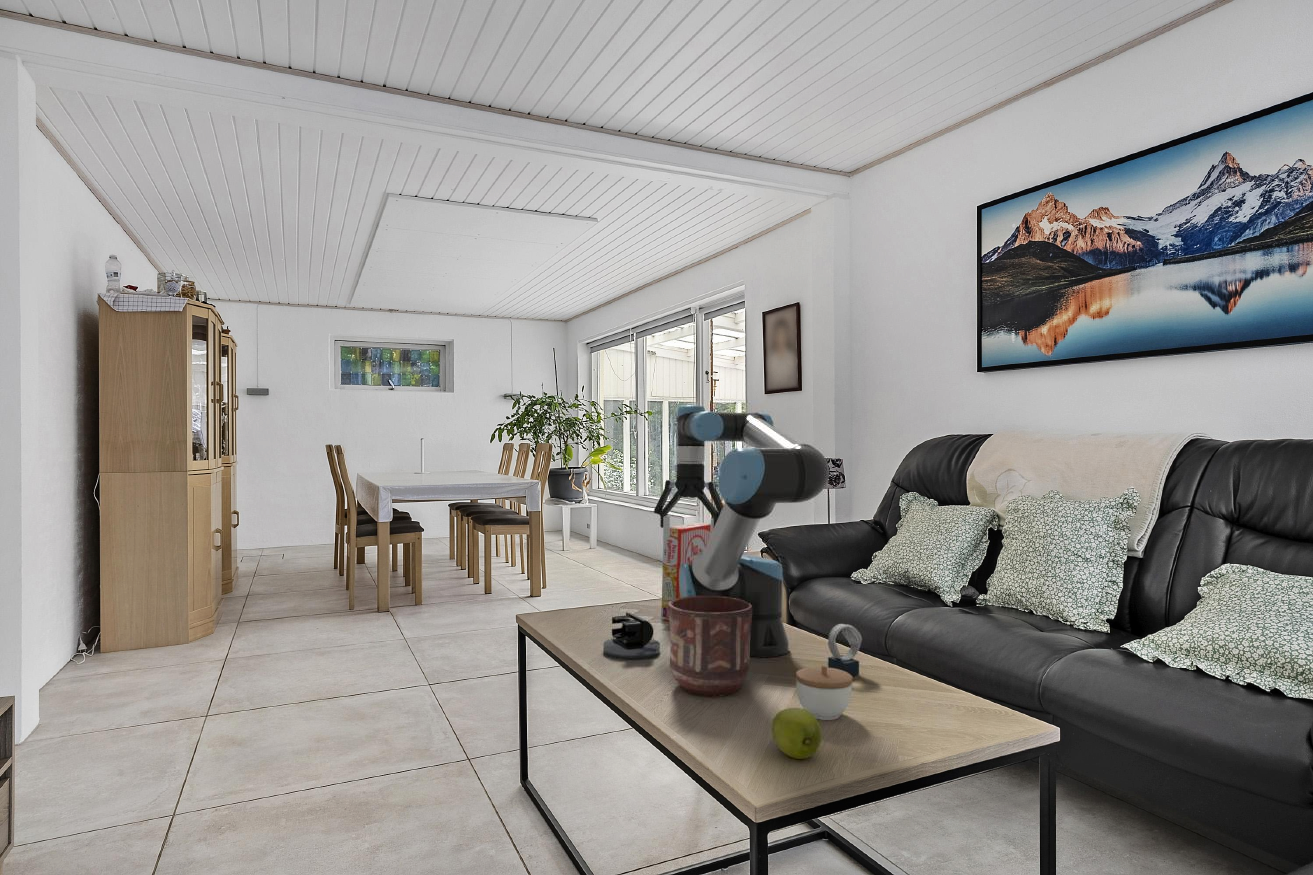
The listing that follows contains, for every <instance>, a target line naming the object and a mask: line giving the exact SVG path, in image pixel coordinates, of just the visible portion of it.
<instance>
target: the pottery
mask: <svg viewBox="0 0 1313 875" xmlns="http://www.w3.org/2000/svg"><path fill="white" fill-rule="evenodd" d="M668 614H669V620H668V623H669V635H670V638H669V639H670V649H669V650H670V651H669V666H670V671H671V673H672V676H673V677H674V679H675V682H677V683H678V685H680V686H681V688H682V689H683V690H685V692H688V693H690V694H693V695H696V696H701V697H702V696H703V697H725V696H730V695H733V694H735V693H736V692H737V691H738V690H739V689H740V688H741V687H742V686H743V684H744V683H745V681H746V679H747V677H748V675H749V671H750V659H751V658H750V657H751V656H750V630H751V620H752V606H751V604H750V603H748V602H746V601H744V600H740V599H736V598H730V597H722V596H688V597H682V598H677V599H675V600H673V601H670V602H669V604H668Z"/></svg>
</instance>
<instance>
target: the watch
mask: <svg viewBox="0 0 1313 875" xmlns="http://www.w3.org/2000/svg"><path fill="white" fill-rule="evenodd" d="M841 630H842V631H841ZM840 632H841V633H842V634H843V636H844V638H845V639H846V640H847V641H848V644H849V645H850V648H849V650H848V651H847V653H846V654H841V653H840V651H839V649H838V645H837V643H836V638H837V635H838V634H839V633H840ZM862 641H863V637H862V635H861V633H860V632H859V630H857V628H856V627H854V626H853V625H851V624H845V623H838V624H836V625H834V626H833V627H832V628H831V630H830V632H829V633H828V642H827V645H828V649H829V652H830V653H831V655H832V656H828V657H827V667H829V668H835V669H839V670H842V671H845V672H847V673H849V674H850V675H851V676H852V677H854V676H859V675H860V661H859V660H857V659H855V657H856V656H857V654H858V652H859V650H860V648H861V644H862Z"/></svg>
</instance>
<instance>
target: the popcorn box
mask: <svg viewBox="0 0 1313 875" xmlns="http://www.w3.org/2000/svg"><path fill="white" fill-rule="evenodd" d="M709 538H710V523H707V522H706V523H705V522H692V523H686V524H681V525H674V526H670V540H666V541H663V542H662V545H663V546H662V581H661V584H662V585H661V609H660V610H661V612H660V613H661V614H660V619H661V620H666V621H669V614H668V604H669V602H670V601H673V600H675V599H677V598H681V594H680V587H679V569H680V566H681V565H682V564H685V563H689V564H690V563H692V562H693V560H694V558H695V556H696V555H697V554H698V553H700V552H702V551H704V550H705V548H706V545H707V543H708V541H709Z"/></svg>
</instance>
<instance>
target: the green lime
mask: <svg viewBox="0 0 1313 875" xmlns="http://www.w3.org/2000/svg"><path fill="white" fill-rule="evenodd" d="M771 732H772V738H773V740H774V742H775V743H776V746H777V747H778V748H779V749H780V751H782V752H783V753H784V754H786V755H787V756H788V757H791V758H793V759H796V760H803V759H807V758H809V757H811V756H812V755H814V754H815V753H816V752H817V751H818V749H819V748H820V745H821V742H822V738H823V737H822V736H823V735H822V730H821V727H820V724H819V722H818V719H816V718H815V717H814V716H813V715H812V714H811V713H810V712H808V711H807V710H805V709H804V708H800V707H788V708H785V709H782V710H781V711H779V712H778V713H777V714H776V715H775V716H774V718H773V720H772V724H771Z"/></svg>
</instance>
